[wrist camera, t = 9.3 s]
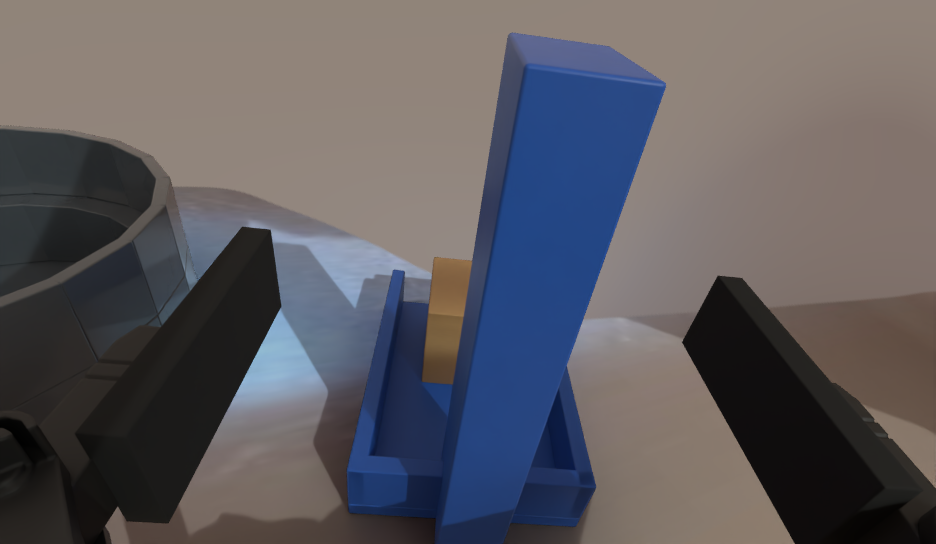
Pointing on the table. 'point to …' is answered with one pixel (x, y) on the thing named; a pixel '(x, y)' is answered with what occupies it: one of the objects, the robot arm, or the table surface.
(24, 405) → the grey round bin
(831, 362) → the table surface
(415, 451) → the scoop
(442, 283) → the block
